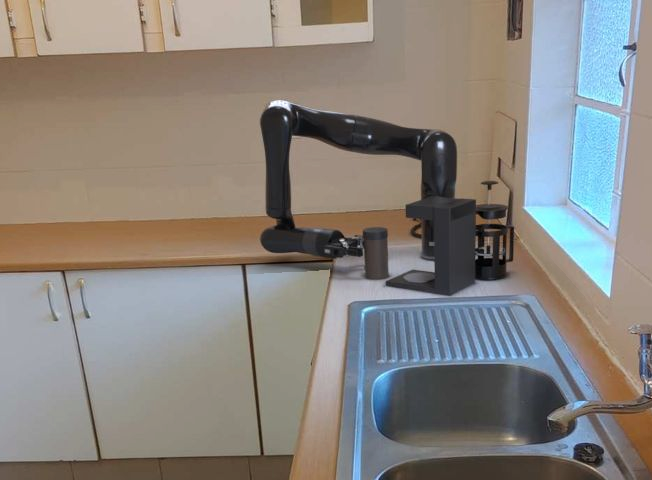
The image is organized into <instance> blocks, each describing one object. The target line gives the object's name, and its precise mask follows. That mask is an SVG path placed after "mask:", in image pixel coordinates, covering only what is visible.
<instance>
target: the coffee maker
mask: <svg viewBox="0 0 652 480" xmlns="http://www.w3.org/2000/svg"><path fill="white" fill-rule="evenodd" d="M476 205H477V199H476V198H475V199H474V198H461V197H460V198H457V197H455V198H441V197H429V198H426V199H422V200H421V199H420V200H416V201H413V202H410V203H407V204H405V219H416V220H420V219H425V220H434V259H435V260H434V271H427V270H420V269H411V270H408V271H406V272H404V273H401V274H399V275H396V276H394V277H391V278H390V279H387V280H386V281H385V286H386V287H391V288H398V289H405V290H410V291H411V290H412V291H417V292H425V293H431V294H436V295H443V296H448V297H449V296H453V294H456V293H457V292H459V291H462V290H464V289H466V288H467V287H470V286H471V285H473V284H475V283H476V279H475V259H476V255H475V248H476V247H477V246H476V245H477V244H476V242H477V240H476V239H477V238H476V237H477V236H476V231H477V230H476V225H477V215H476Z"/></svg>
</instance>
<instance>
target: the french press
mask: <svg viewBox="0 0 652 480" xmlns="http://www.w3.org/2000/svg"><path fill="white" fill-rule="evenodd" d="M499 183H500V182H499V181H496V180H485V181H481V182H480V184H481V185H483V186H487V191H488V203H484V204H483V203H481V204H476V216H479V217H480V218H481V219H482V220H487V223H479V224H476V237H477V246H476V248H475V256H477V258H475V280H477V281H497V280H502V279H505V278H506V277H507V276H508V272H507V266H508V265H507V263H512V262H514V253H515V252H514V250H515V249H514V247H515V226H514V225H511V224H508V225H506V224H502V223H491V221H490V220H501V219H504V218H506V217H507V210H508V209H509V206H508V205H507V204H499V203H491V191H492V189H493V188H492V187H493V185H494V186H495V185H498V184H499ZM508 229H509V250H508V251H509V252H508V258H507V241H508V235H507V234H508ZM485 230H486V231H485ZM501 237H502V247H501ZM485 238H487V245H485ZM490 238H492V245H491V244H490ZM500 256H502V257H501V258H500Z"/></svg>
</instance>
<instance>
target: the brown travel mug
mask: <svg viewBox="0 0 652 480" xmlns="http://www.w3.org/2000/svg"><path fill="white" fill-rule="evenodd" d="M388 235H389V232H388V227H383V226H373V227H366V228H364V229H363V230H362V236H363V239H364V249H363V257H364V258H363V259H364V277H365V278H366V279H368V280H383V279H386V278H388V277H389V276H390V271H389V248H388V247H389V244H388V243H389V242H388V237H389V236H388Z"/></svg>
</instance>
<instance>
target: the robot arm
mask: <svg viewBox="0 0 652 480" xmlns="http://www.w3.org/2000/svg"><path fill="white" fill-rule="evenodd" d="M259 128H260V132H261V136H262V137H261V138H262V143H263V149H264V158H265V160H264V161H265V192H264V193H265V195H264V197H265V199H264V200H265V214H266V216H268V218H271V219H273V220H275V221H276V222H275V223H276V224H274V225H271V226H268V227H265V228H264V229H263V230H262V231H261V233H260V236H259V242H260V245H261V246H262V247H263V249H264V250H266V251H267V252H268V253H272V254H289V253H299V254H305V255H311V256H313V257H319V258H327V259H332V260H333V259H338V258H339V259H342V258H344V257H357V258H362V257H364V239H363V235H359V234H355V235H354V236H351V235H350V236H349V235H348V236H345V235H344V233H343V232H342V231H341V230H339V229H332V228H323V227H305V226H298V227H296V223H295V220H294V219H295V218H294V215H293V212H292V181H291V172H290V171H291V170H290V153H291V145H292V139H293V136H294V137H302V138H309V139H313V140H317V141H319V142H322V143H324V144H326V145H328V146H331V147H334V148H336V149H338V150H342V151H345V152H350V153H354V154H355V153H356V154H362V155H369V156H370V155H371V156H400V157H401V156H403V157H406V158H410V159H414V160H417V161H420V162H421V165H420V166H421V178H420V179H421V180H420V200H422V199H426V198H429V197H441V198H456V186H457V178H458V146H457V142H456V140H455V139H454V137H453V136H452V135H451V134H450V133H448V132H447V131H444V130H442V129H437V128H435V129H433V128H416V127H406V126H402V125H398V124H394V123H392V122H388V121H385V120H381V119H377V118H372V117H368V116H362V115H358V114H351V113H344V112H336V111H326V110H318V109H313V108H309V107H307V106H302V105H299V104H295V103H292V102H289V101H286V100H274V101H271V102H269V103H267V105H266V106H264V108H263V110H262V112H261V114H260V117H259ZM412 220H413V221H417V219H414V218H412ZM419 221H421V222H420V223H417V224H415V225H413V226H412V227H411V229H410V233H411V235H412V236H415V237H417V238H421V255H420V256H421V258H423V259H425V260H433V261H435V259H434V220H425V219H419ZM420 227H421V229H420V231H421V232H420V233H417V232H415V230H416V229H418V228H420Z"/></svg>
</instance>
